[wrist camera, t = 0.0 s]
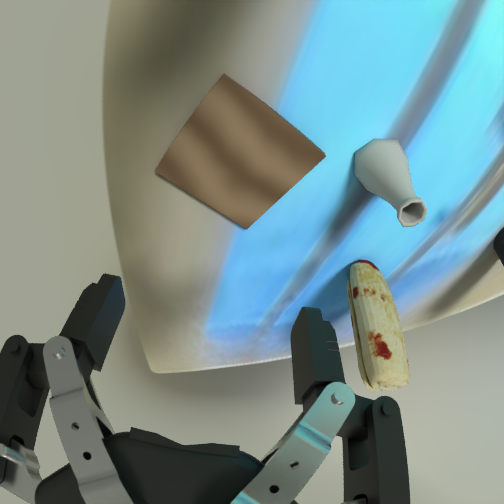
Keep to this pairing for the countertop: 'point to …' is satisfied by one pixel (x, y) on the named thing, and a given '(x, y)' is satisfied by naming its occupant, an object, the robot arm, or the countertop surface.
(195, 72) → the countertop surface
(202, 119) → the walnut board
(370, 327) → the food model
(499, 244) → the travel mug
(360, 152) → the flask
